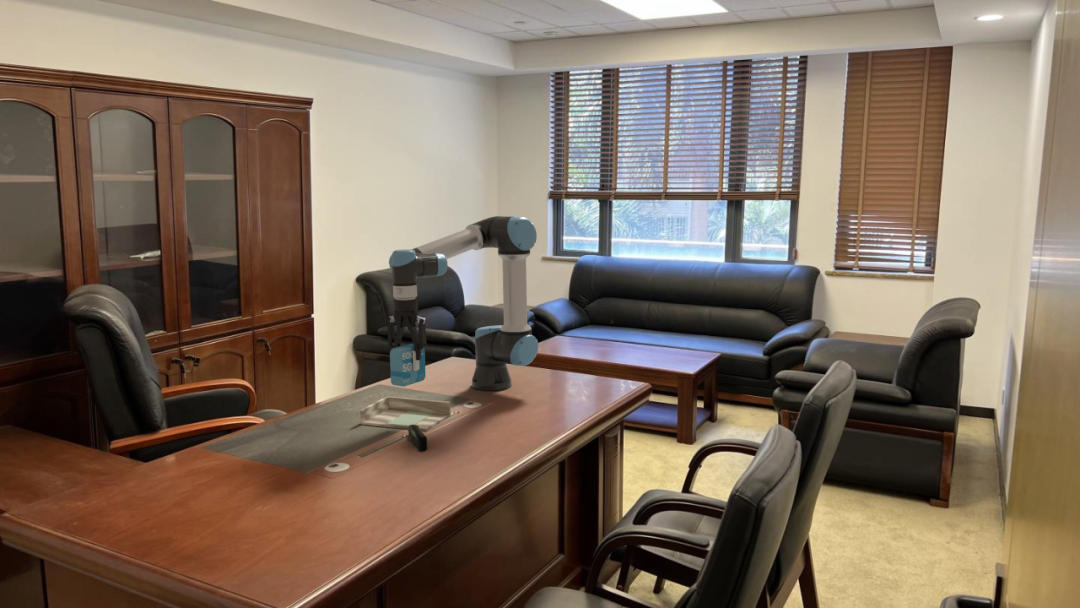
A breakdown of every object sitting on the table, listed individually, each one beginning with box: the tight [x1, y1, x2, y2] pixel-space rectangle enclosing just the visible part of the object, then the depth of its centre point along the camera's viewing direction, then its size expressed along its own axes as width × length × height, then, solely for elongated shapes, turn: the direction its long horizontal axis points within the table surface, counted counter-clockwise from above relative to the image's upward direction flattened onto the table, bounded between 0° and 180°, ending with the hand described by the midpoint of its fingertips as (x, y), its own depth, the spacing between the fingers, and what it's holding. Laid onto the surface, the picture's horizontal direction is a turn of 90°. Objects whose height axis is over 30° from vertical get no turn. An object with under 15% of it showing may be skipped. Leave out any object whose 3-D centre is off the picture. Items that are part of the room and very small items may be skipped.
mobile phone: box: [406, 425, 428, 452], centre depth 231 cm, size 5×3×15 cm
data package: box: [389, 343, 426, 388], centre depth 250 cm, size 12×4×12 cm, turn 148°
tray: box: [359, 395, 452, 432], centre depth 254 cm, size 17×24×5 cm
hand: (408, 369), depth 251 cm, fingers closed on data package, 5 cm apart
